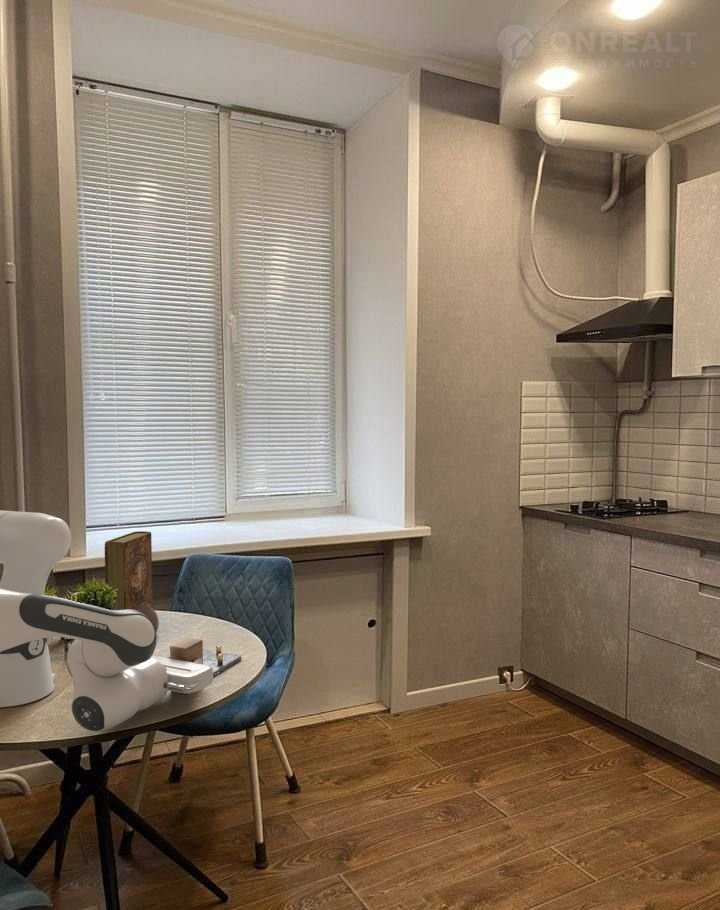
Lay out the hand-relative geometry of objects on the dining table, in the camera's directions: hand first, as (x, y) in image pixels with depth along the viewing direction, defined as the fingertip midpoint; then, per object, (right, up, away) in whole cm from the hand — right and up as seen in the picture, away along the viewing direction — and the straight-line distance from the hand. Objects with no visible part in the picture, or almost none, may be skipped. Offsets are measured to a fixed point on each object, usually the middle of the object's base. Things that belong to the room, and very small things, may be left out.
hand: (189, 659), depth 151 cm
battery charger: (-39, -4, +33) cm, 51 cm away
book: (-27, -3, +42) cm, 50 cm away
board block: (0, -6, 0) cm, 6 cm away
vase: (-20, -4, +33) cm, 39 cm away
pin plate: (+1, -5, +13) cm, 14 cm away
